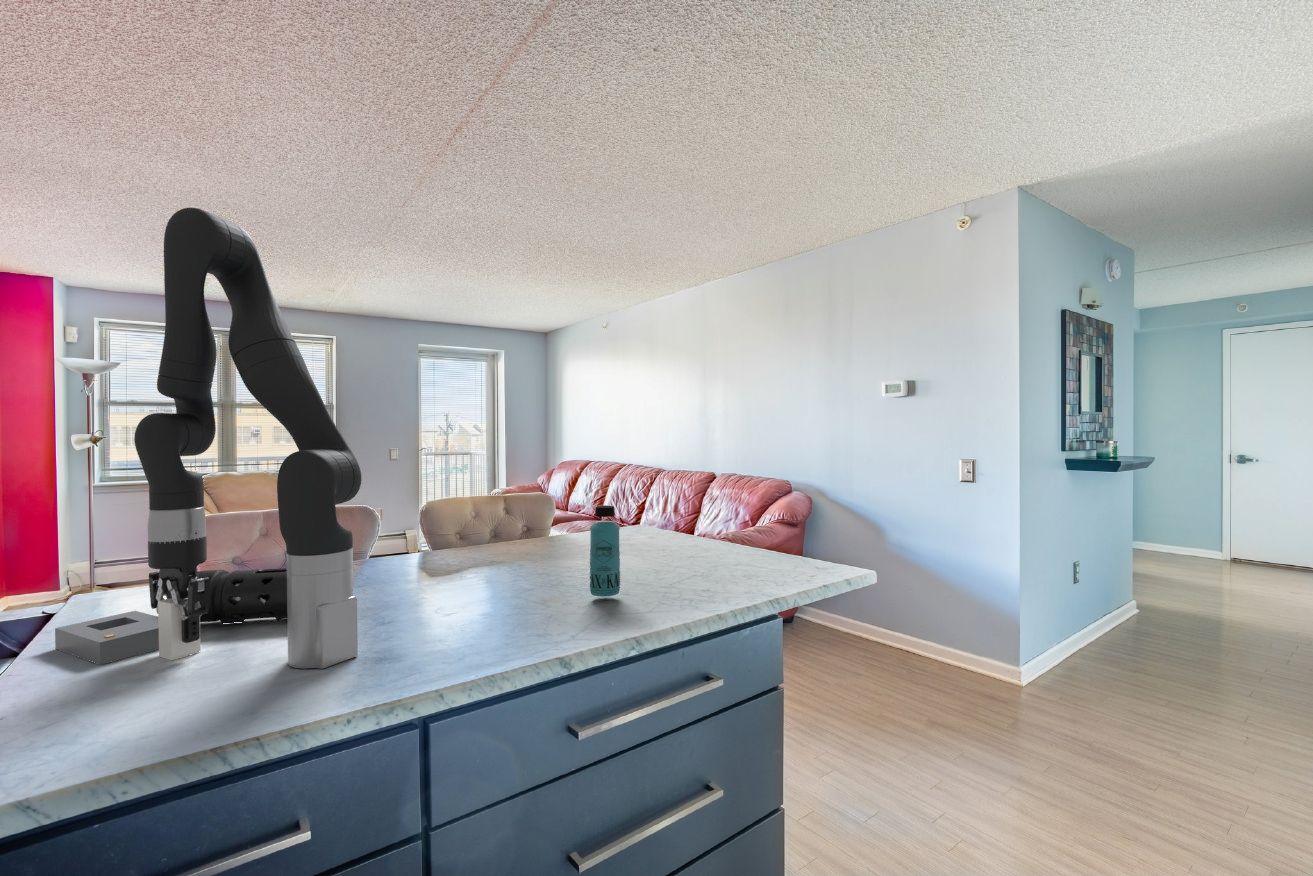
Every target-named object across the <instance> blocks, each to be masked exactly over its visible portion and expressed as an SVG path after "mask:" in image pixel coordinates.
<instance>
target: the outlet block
mask: <svg viewBox="0 0 1313 876" xmlns="http://www.w3.org/2000/svg"><path fill="white" fill-rule="evenodd" d="M54 637H55V638H54V643H55V648H54V649H55V650H57V649H59V650H58V651H60V650H61V651H60V652H63V651H64V652H63V653H65V652H66V654H68V653H69V655H71V654H73V655H72V656H74V655H75V656H74V657H77V656H79V657H80V659H82V658H84V659H83V660H85V659H86V661H88V660H90V661H89V662H91V661H93V662H95V663H94V664H96V663H98V664H97V665H99V666H101V665H104V663H105V664H108V663H111V661H113V662H115V661H119V660H123V659H127V658H130V657H131V658H132V657H134V656H139V655H141V654H142V655H143V654H145V653H149V652H153V651H157V650H159V623H158V616H157V615H154V614H150V613H145V612H143V611H138V610H132V611H128V612H123V613H118V614H113V615H109V616H104V617H100V618H96V619H91V620H87V621H81V622H78V623H72V624H68V625H64V626H58V627H55V628H54ZM156 649H157V650H156ZM79 657H78V658H79ZM93 662H92V663H93Z"/></svg>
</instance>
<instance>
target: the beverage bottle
mask: <svg viewBox="0 0 1313 876" xmlns="http://www.w3.org/2000/svg"><path fill="white" fill-rule="evenodd" d="M615 514H616V513H615V507H614V506H613V505H598V506H595V515H594V517H596V518H597V517H599V518H608V517H615ZM620 528H621V527H620V525H619V524H618V523H617V522H616V521H613V520H598V521H597V520H596V521H594V523H592V524H591V525H590V527H589V529H590V544H589V545H590V546H589V547H590V551H589V560H588V561H589V574H588V575H589V592H590V595H592V596H595V597H604V598H605V597H612V596H616V595H618V594H619V593H620V589H621V570H620V569H621V557H620V556H621V551H620Z"/></svg>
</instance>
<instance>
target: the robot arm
mask: <svg viewBox="0 0 1313 876" xmlns="http://www.w3.org/2000/svg"><path fill="white" fill-rule="evenodd" d="M163 273H164V274H163V277H164V278H163V279H164V280H163V281H164V283H163V285H164V308H165V310H164V312H165V313H164V314H165V316H164V317H165V318H164V319H165V320H164V322H165V323H164V324H165V325H164V326H165V327H164V336H163V344H162V351H161V358H160V363H159V367H158V375H157V380H156V388H157V392H158V393H159V394H161V396H162V395H163V396H165V397H167V398H170V399H173V401H174V405H175V409H176V410H175V413H173V412H156V413H150V414H148V415H146V416H144V417H143V418H142V419H140V421H139V423H138V424H137V425H136V427H135V430H134V439H133V440H134V447H135V451H136V452H137V455H138V458H139V461H140V463H141V467H142V470H143V473H144V476H145V478H146V481H147V484H148V497H149V500H148V503H149V507H148V508H149V509H148V510H149V513H148V520H147V566H148V568H151V569H153V570H158V571H153V572H149V573H148V587H149V597H150V598H149V599H150V600H149V601H150V607H151V609H152V610H153V609H155V610H156V614H158V601H160V600H165V599H170V598H172V599H173V602H174V606H175V607H177V608H179V610H180V614H181V618H182V620H181V623H182V642H184V643H189V642H193V641H196V640H198V639H199V638H200V639H201V623H200V624H199V617H200V616H202V615H203V614H207V613H208V609H209V589H210V579H209V578H208V577H205V578H199V576H198V568H197V567H198V566H199V565H202V564H203V563H205V562H206V561H207V559H208V545H207V544H208V543H207V540H208V539H207V536H208V535H207V517H206V511H205V490H204V489H205V485H204V479H203V476H202V475H201V474H200V473H199V472H196V471H192V470H187V469H186V468H185V466H184V464H183V461H182V458H181V457H193V456H198V455H201V454H203V453H205V452H206V451H208V450H209V448H210V447H211V446H212V444H213V442H214V440H215V436H216V429H217V428H216V417H215V411H214V409H215V408H214V403H213V397H212V386H213V381H214V375H215V370H216V366H217V365H216V364H217V355H218V351H217V349H218V348H217V343H216V337H215V335H214V332H213V328H212V325H211V322H210V319H209V315H208V312H207V308H206V301H205V285H206V279H207V275H208V274H209V275H212V276H213V277H215V278H216V279H217V281H218V282H219V284H220V286H221V287H222V289H223V292H224V294H225V296H226V298H227V301H228V303H229V305H230V307H231V313H232V314H231V315H232V316H231V322H230V327H229V332H228V333H229V334H228V348H229V354H230V357H231V359H232V361H233V363H234V365H235V367H236V369H237V372H238V374H239V376H240V378H241V380H242V382H243V384H244V386H245V388H246V389H247V390H248V392H249V393H250V394H251V396H253V397H254V398H255V400H256V401H257V402H258V403H259V404H260V405H261V406H262V408H264V409H265V410H267V412H268V413H270V414H271V416H272V417H274V418H275V419H276V420H277V421H278V422H279V423H280V424H281V425H282V426H283V427H284V429H286V431H287V432H288V434H289V435H290V437H291V439H292V440H293V442H294V443H295V445H296V447H297V449H298V451H295V452H292V453H291V454H289V455H288V456H286V458H285V459H283V461H282V463H281V465H280V467H279V470H278V473H277V478H276V479H277V481H276V494H277V497H276V498H277V507H278V508H277V510H278V523H279V531H280V534H281V537H282V538H283V540H284V542H285V548H286V549H285V550H286V568H287V618H286V619H287V620H286V621H287V622H286V624H287V664H288V666H290V667H291V668H294V669H295V668H296V669H325V668H327V667H330V666H334V665H336V664H339V663H341V662H344V661H347V660H349V659H353V658H354V657H355V658H356V657H358V655H359V651H358V650H359V649H358V645H359V644H358V643H359V642H358V641H359V640H358V638H359V637H358V636H359V635H358V599H357V597H356V596H355V595H354V548H353V545H354V544H353V541H354V540H353V533H352V531H351V530H350V529H349V528H347V527H344V526H342V525H341V524H340V523H339V522H338V519H337V509H336V508H337V507H336V505H341V504H344V503H346V502H348V501H351V500H352V499H354V498H355V497H356V495H358V493H359V491H360V489H361V484H362V472H361V471H362V470H361V467H360V464H359V462H358V459H357V457H356V456H355V454H354V453H353V451H352V450H351V448H350V447H349V445H348V443H347V441H346V440H345V438H344V437H343V435H342V433H341V432H340V430H339V429H338V427H337V425H336V423H335V422H334V421H333V419H332V417H331V415H330V412H329V411H328V409H327V407H326V405H325V403H324V400H323V399H322V396H321V394H320V392H319V390H318V388H317V386H316V384H315V382H314V380H313V378H312V375H311V373H310V372H309V369H308V366H307V364H306V362H305V360H304V358H303V355H302V353H301V350H300V349H299V347H298V345H297V343H296V340H295V339H294V337H293V335H292V333H291V331H290V329H289V327H288V325H287V322H286V321H285V319H284V315H283V314H282V312H281V309H280V306H279V305H278V303H277V300H276V298H275V297H274V295H273V292H272V290H271V286H270V284H269V280H268V278H267V275H266V271H265V269H264V266H263V263H262V259H261V257H260V254H259V252H258V249H257V246H256V244H255V242H254V240H253V238H252V237H251V235H250V234H249V232H247V230H245V229H244V228H243V227H241V226H240V225H239V224H236V223H235V222H232V221H230V220H227V219H225V218H223V217H220V216H218V215H216V214H213V213H212V212H209V211H206V210H204V209H200V208H198V207H185V208H181V209H179V210H177V211H176V212H175V213H173V214H172V215H171V217H170V218H169V220H168V222H167V224H166V227H165V229H164V237H163ZM185 598H188V599H185ZM183 599H184V600H183ZM200 601H202V603H201V605H200ZM186 605H188V607H187V608H186Z"/></svg>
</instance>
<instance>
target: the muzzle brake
mask: <svg viewBox="0 0 1313 876" xmlns="http://www.w3.org/2000/svg"><path fill="white" fill-rule="evenodd" d="M197 572H198V576H199V578H205V577H208V578H209V579H210V589H209V609H208V613H207V614H203V615H202V616H200V623H211V622H212V623H213V622H220V624H221V625H222V624H223V623H234V622H243V621H244V620H245V621H246V620H258V619H270V618H271V619H272V618H273V619H276V621H281V620H282V619H283V620H284V619H287V567H286V568H284V567H283V568H271V569H270V568H267V569H241V570H240V569H239V570H233V571H232V572H230V571H228V570H224V569H210V570H209V569H206V570H197ZM201 603H202V601H200V605H201ZM245 621H244V622H245ZM244 622H243V623H244Z"/></svg>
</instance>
